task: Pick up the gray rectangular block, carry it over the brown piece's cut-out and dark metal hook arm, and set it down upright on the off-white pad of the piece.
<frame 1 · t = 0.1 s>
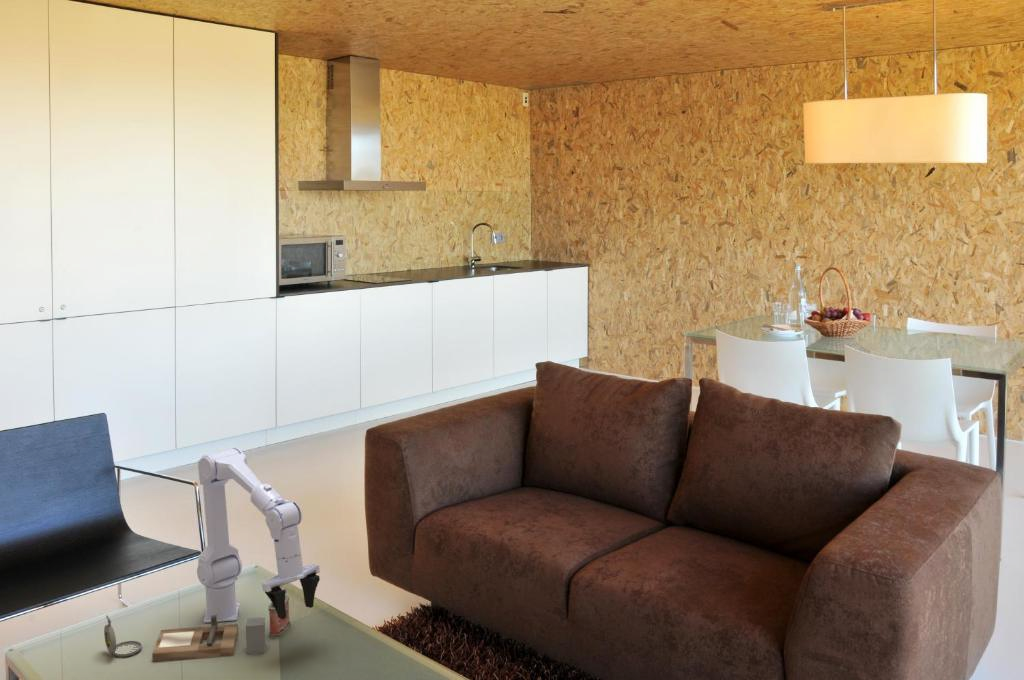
hand: (296, 612, 223), 10 cm above the table, tool pointing down, fingers open, 7 cm apart
pocket watch: (121, 653, 225), on the table
lighter: (280, 631, 237), on the table
gray rectangular block: (256, 649, 227), on the table
brown piece: (197, 646, 228), on the table
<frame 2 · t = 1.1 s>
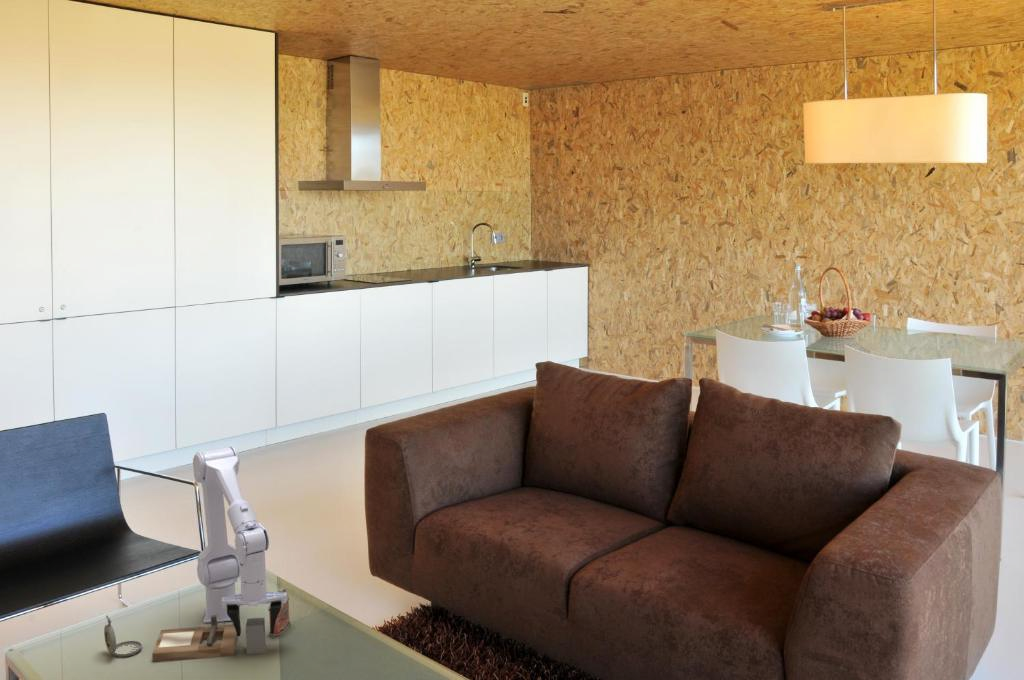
hand: (255, 633, 226), 4 cm above the table, tool pointing down, fingers open, 7 cm apart
nothing on the table moved.
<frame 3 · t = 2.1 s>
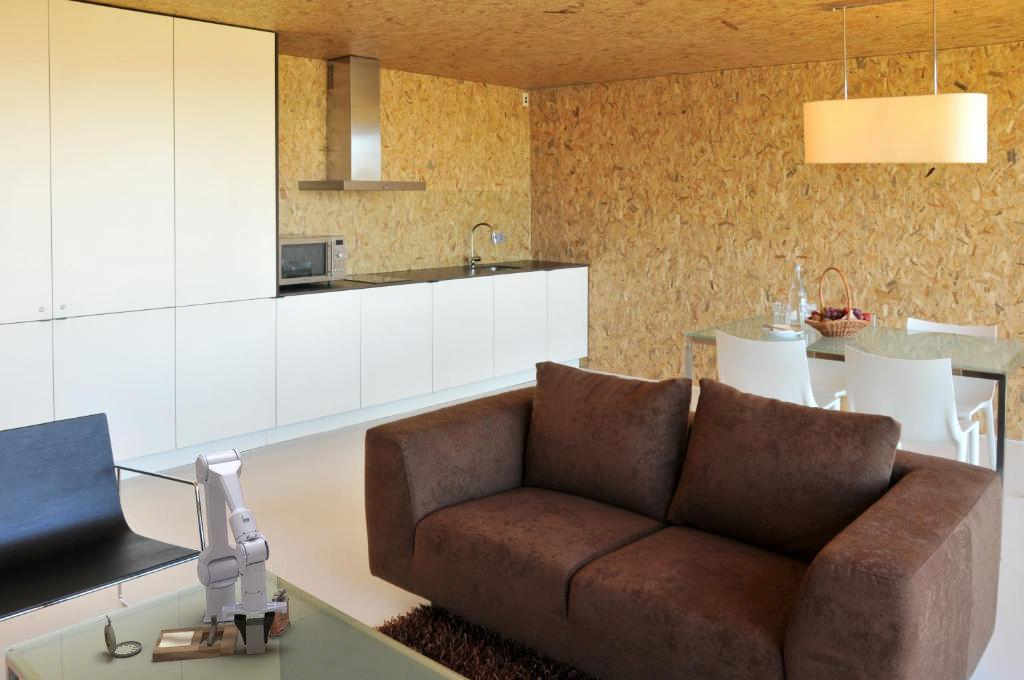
hand: (256, 642, 227), 2 cm above the table, tool pointing down, fingers closed on gray rectangular block, 4 cm apart
gray rectangular block: (256, 649, 227), on the table, touching gripper
everything else where it was.
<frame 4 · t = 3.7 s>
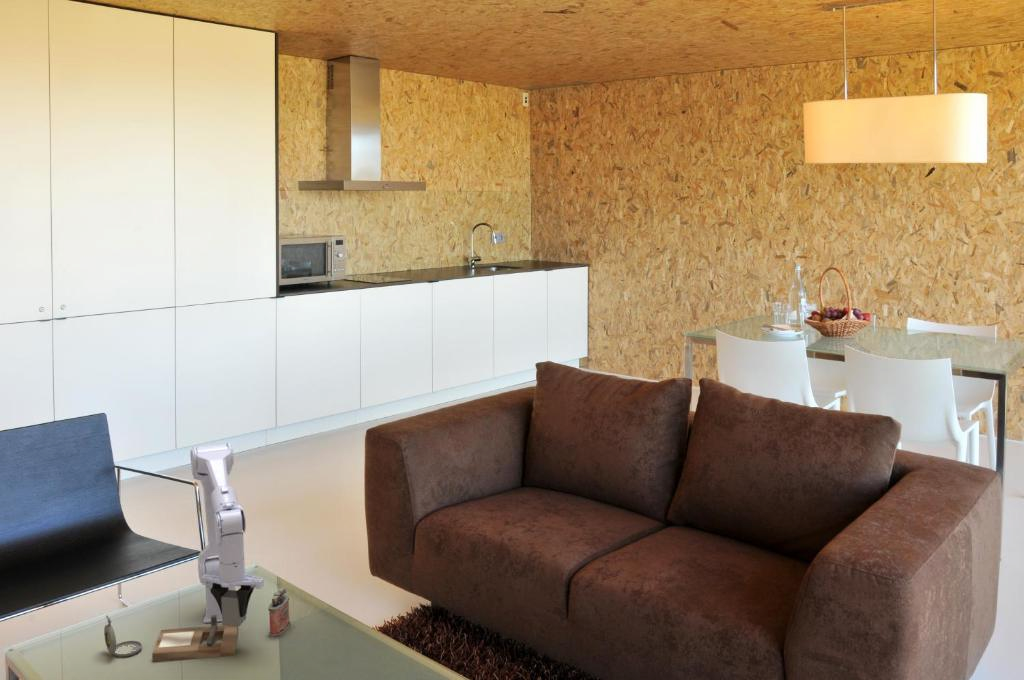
hand: (234, 614, 226), 9 cm above the table, tool pointing down, fingers closed on gray rectangular block, 4 cm apart
gray rectangular block: (234, 622, 226), point 7 cm above the table, touching gripper
everything else where it was.
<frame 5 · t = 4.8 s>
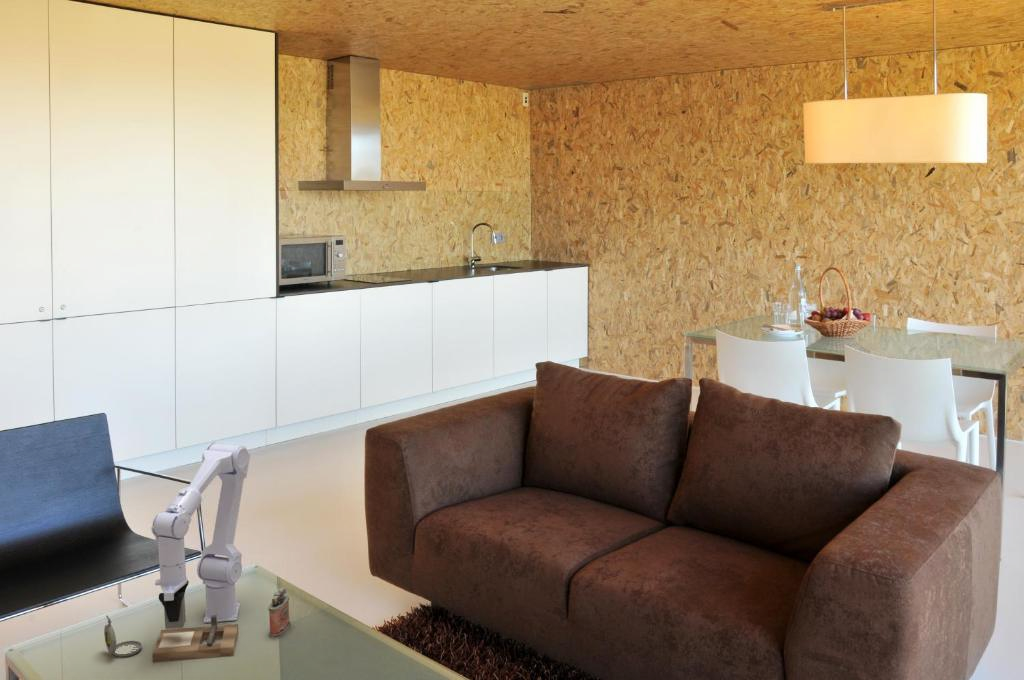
hand: (175, 616, 226), 8 cm above the table, tool pointing down, fingers closed on gray rectangular block, 4 cm apart
gray rectangular block: (175, 624, 226), point 6 cm above the table, touching gripper
everything else where it was.
when the fingers open (5 cm above the table, at t = 5.7 s): gray rectangular block stays where it is, resting on brown piece.
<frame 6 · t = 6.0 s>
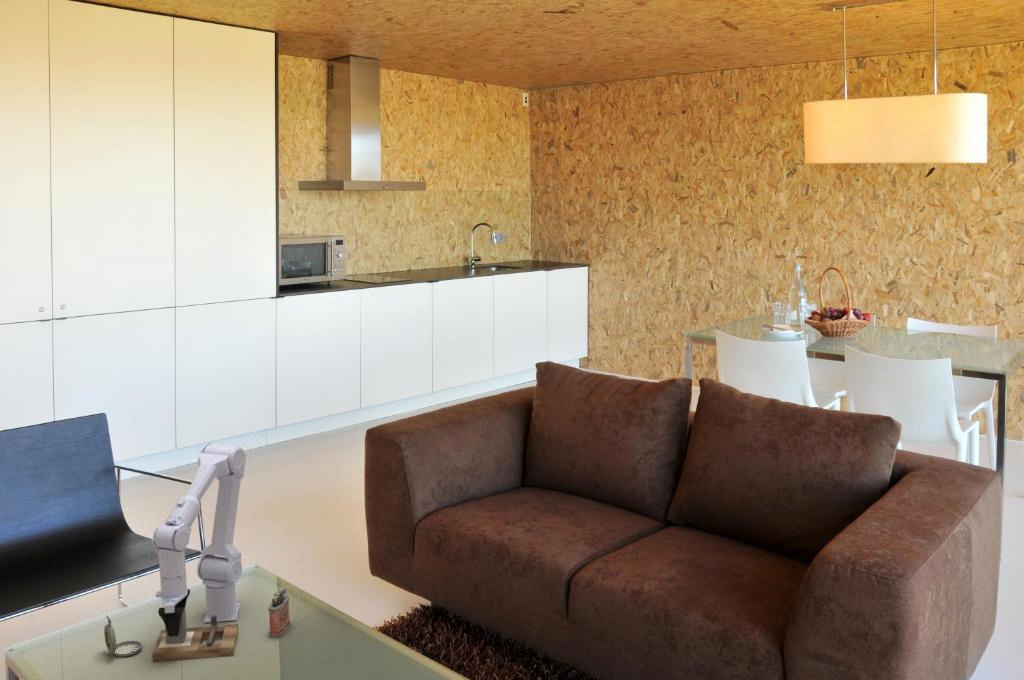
hand: (176, 628, 227), 5 cm above the table, tool pointing down, fingers open, 7 cm apart
gray rectangular block: (176, 639, 227), point 2 cm above the table, touching brown piece
everything else where it was.
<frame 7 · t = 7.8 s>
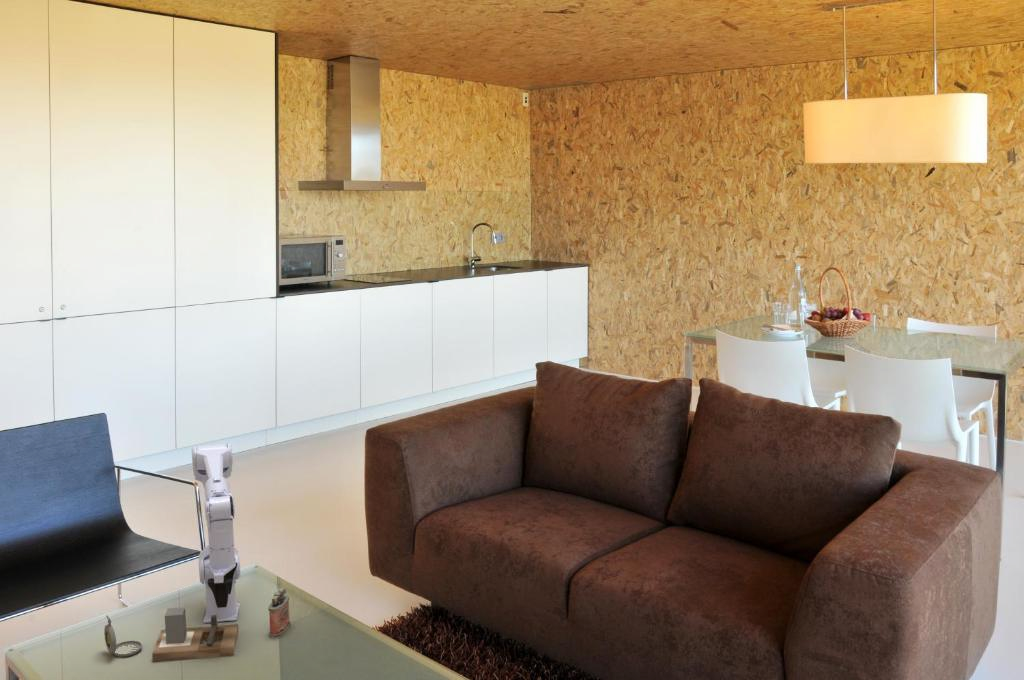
hand: (224, 600, 229), 10 cm above the table, tool pointing down, fingers open, 7 cm apart
nothing on the table moved.
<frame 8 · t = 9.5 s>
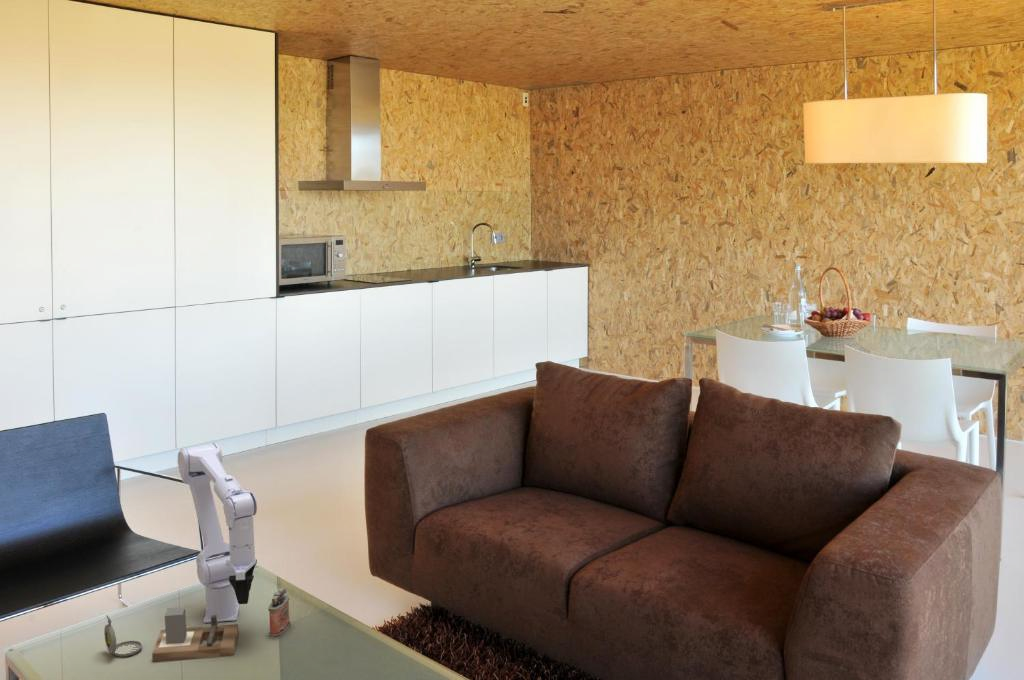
hand: (244, 596, 231), 10 cm above the table, tool pointing down, fingers open, 7 cm apart
nothing on the table moved.
at the end: gray rectangular block 0.0 cm from the target spot on the brown piece, point 2.2 cm above the brown piece's base; gray rectangular block tilted 0°; the gripper is holding nothing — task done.
